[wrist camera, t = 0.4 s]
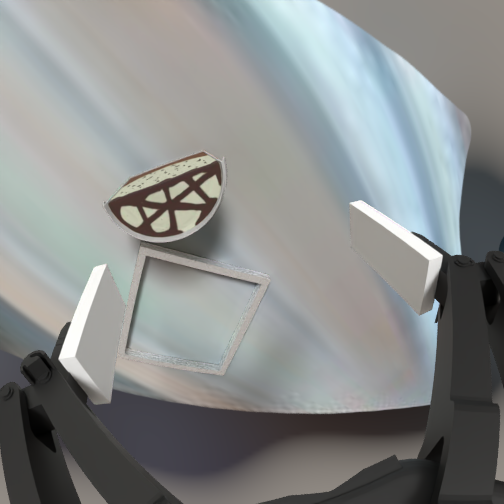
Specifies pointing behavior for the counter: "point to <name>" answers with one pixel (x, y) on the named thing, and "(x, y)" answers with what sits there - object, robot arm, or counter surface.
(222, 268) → the grey square frame
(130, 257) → the counter surface
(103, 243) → the counter surface
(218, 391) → the counter surface
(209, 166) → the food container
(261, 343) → the counter surface
